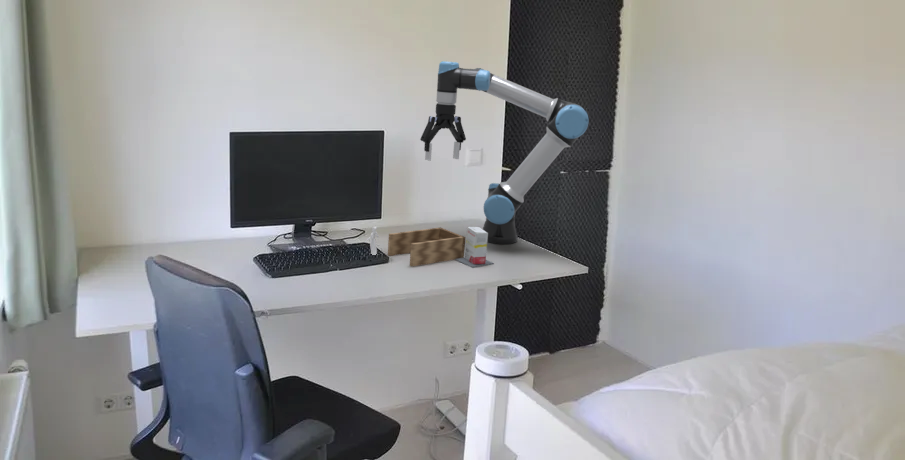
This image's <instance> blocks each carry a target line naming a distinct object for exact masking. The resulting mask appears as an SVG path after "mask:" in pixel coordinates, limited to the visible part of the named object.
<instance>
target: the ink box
mask: <svg viewBox="0 0 905 460" xmlns="http://www.w3.org/2000/svg"><path fill="white" fill-rule="evenodd" d="M466 229H467V230H466V236H465V237H466V238H465V250H464V257H465V258H466V259H467V260H468V261H470V262H471V263H473V264H485V261H486V260H487V258H486V257H487V250H488V249H487V248H488V242H487V239H488V233H487V232H486V231H484V230H483V228H481V227H480V226H468V227H467V228H466Z"/></svg>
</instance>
